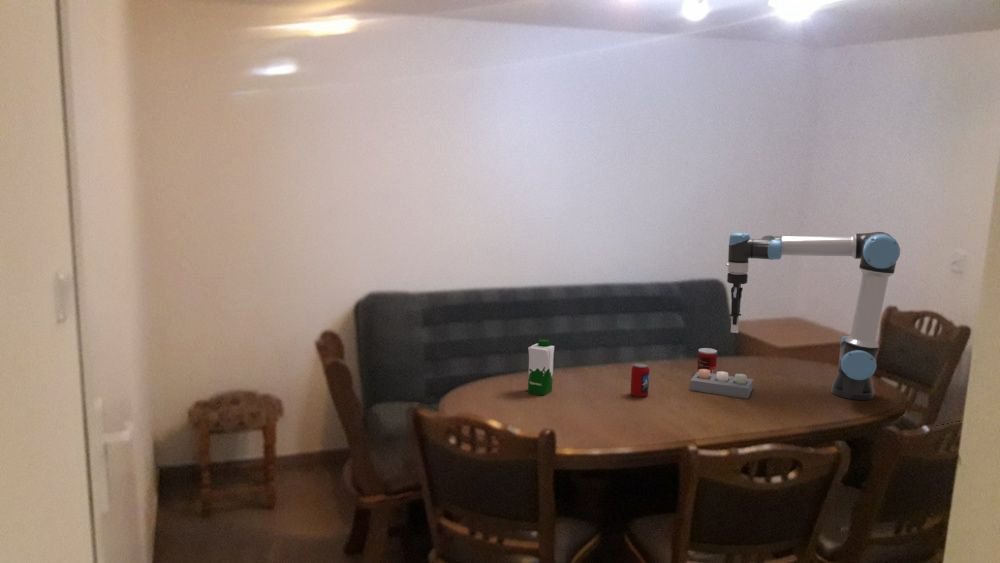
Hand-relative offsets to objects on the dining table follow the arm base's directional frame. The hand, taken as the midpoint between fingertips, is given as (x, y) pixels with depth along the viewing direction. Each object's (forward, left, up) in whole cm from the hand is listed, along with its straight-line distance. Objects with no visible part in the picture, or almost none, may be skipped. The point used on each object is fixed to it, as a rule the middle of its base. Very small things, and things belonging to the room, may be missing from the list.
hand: (734, 332), depth 304 cm
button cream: (+3, +3, -21) cm, 22 cm away
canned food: (+12, -14, -23) cm, 29 cm away
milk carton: (+65, +41, -23) cm, 80 cm away
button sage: (-4, +3, -21) cm, 22 cm away
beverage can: (+30, +26, -23) cm, 46 cm away
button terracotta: (+10, +3, -21) cm, 24 cm away
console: (+3, +3, -23) cm, 23 cm away
